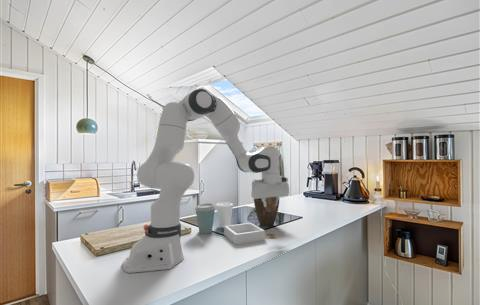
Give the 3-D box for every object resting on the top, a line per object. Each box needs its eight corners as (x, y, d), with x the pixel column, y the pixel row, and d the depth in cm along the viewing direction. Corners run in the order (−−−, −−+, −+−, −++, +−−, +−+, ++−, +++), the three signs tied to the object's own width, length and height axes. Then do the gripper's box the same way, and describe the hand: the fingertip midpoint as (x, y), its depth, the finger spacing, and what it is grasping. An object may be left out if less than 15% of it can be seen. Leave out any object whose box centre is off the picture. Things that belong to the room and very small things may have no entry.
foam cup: (233, 224, 151) (233, 202, 151) (231, 229, 141) (231, 206, 141) (217, 224, 152) (217, 202, 152) (214, 229, 142) (214, 205, 142)
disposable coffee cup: (203, 237, 128) (203, 207, 128) (191, 233, 136) (191, 204, 136) (219, 232, 136) (219, 204, 136) (206, 228, 143) (206, 201, 143)
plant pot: (266, 231, 138) (266, 201, 138) (248, 225, 150) (248, 198, 150) (285, 226, 148) (284, 198, 148) (266, 221, 159) (266, 195, 159)
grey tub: (235, 245, 117) (235, 234, 117) (224, 235, 131) (224, 226, 131) (264, 241, 123) (264, 230, 123) (250, 232, 137) (250, 222, 137)
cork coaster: (267, 240, 124) (267, 239, 124) (259, 235, 131) (259, 234, 131) (281, 238, 127) (281, 237, 127) (273, 233, 134) (273, 232, 134)
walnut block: (269, 211, 126) (269, 197, 126) (265, 210, 130) (265, 196, 130) (276, 211, 128) (275, 197, 128) (271, 209, 132) (271, 195, 132)
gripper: (254, 180, 122) (255, 209, 122) (290, 178, 130) (290, 205, 130) (249, 179, 127) (249, 206, 128) (283, 177, 136) (283, 203, 136)
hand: (270, 206), depth 129 cm, fingers closed on walnut block, 4 cm apart
